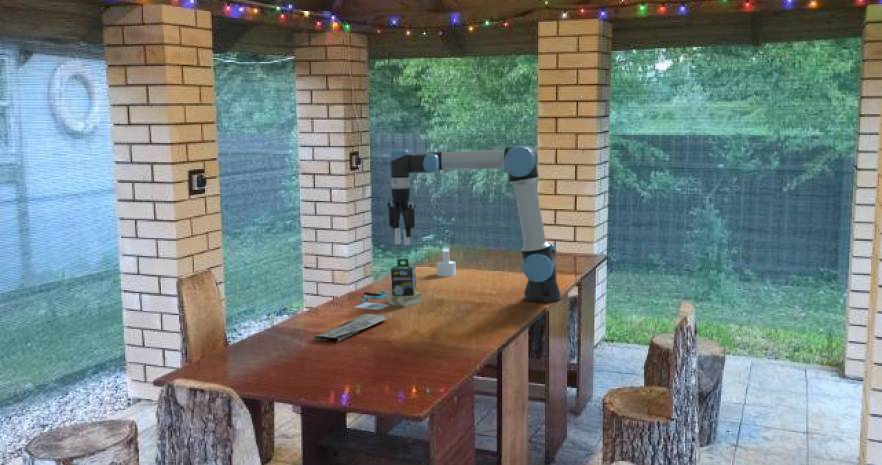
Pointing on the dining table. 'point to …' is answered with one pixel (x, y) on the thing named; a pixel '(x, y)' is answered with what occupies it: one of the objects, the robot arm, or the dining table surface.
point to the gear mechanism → (374, 295)
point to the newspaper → (351, 327)
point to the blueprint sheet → (372, 306)
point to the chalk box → (403, 278)
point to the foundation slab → (404, 299)
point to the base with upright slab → (446, 265)
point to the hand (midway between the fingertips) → (402, 244)
